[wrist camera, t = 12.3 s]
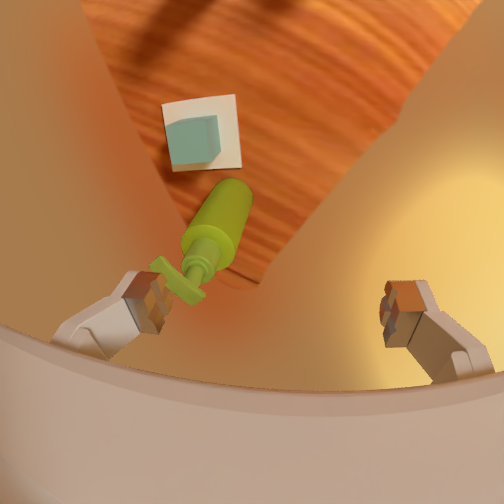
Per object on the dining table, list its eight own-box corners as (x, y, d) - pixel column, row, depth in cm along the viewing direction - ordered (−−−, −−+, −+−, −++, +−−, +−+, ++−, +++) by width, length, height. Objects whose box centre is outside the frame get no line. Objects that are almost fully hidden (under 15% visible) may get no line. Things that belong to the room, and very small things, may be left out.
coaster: (162, 104, 34) (161, 104, 33) (235, 94, 32) (234, 94, 32) (174, 170, 39) (172, 171, 39) (242, 166, 38) (241, 167, 37)
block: (180, 119, 34) (165, 126, 30) (216, 114, 34) (205, 120, 30) (186, 153, 37) (171, 165, 33) (221, 150, 36) (210, 162, 32)
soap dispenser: (227, 164, 38) (169, 246, 22) (261, 199, 40) (233, 301, 24) (199, 190, 41) (135, 280, 24) (232, 222, 43) (191, 325, 27)
